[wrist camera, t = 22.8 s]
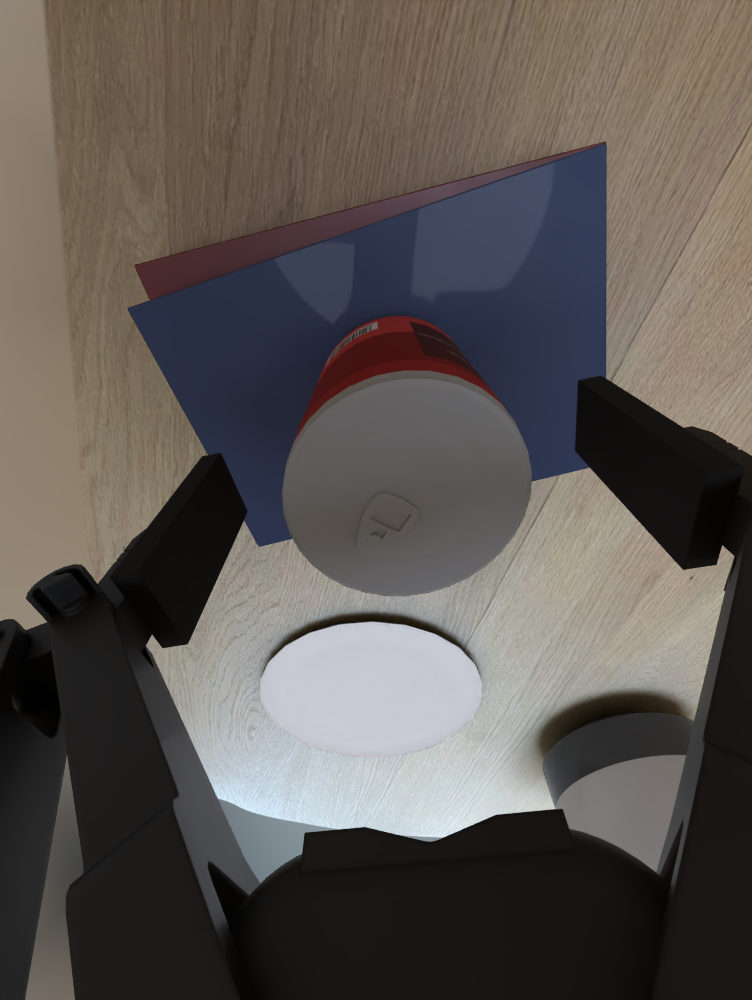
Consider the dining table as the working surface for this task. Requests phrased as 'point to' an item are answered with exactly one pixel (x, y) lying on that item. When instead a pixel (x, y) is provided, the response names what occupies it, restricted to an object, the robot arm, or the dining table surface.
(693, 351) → the dining table surface
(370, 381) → the canned food
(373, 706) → the plate
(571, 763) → the planter
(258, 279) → the book stack
